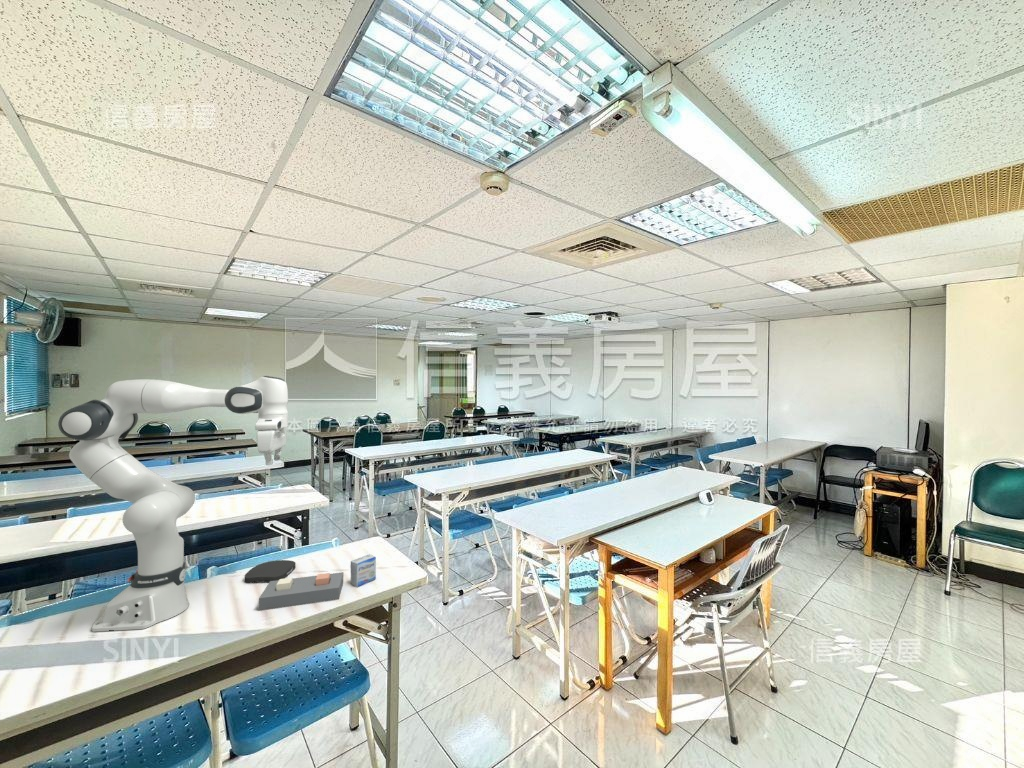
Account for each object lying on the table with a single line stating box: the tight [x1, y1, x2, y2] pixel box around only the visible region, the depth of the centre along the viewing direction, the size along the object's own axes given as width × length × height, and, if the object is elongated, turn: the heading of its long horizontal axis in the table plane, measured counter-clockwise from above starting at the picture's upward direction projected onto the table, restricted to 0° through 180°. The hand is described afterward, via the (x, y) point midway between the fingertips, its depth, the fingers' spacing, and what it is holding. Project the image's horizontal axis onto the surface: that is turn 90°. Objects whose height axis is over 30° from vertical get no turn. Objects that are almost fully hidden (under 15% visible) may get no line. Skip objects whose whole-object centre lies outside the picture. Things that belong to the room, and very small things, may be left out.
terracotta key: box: [316, 572, 331, 586], centre depth 138 cm, size 4×4×3 cm
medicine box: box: [350, 553, 377, 588], centre depth 147 cm, size 8×4×9 cm, turn 143°
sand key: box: [276, 577, 294, 591], centre depth 135 cm, size 4×4×3 cm
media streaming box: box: [244, 559, 297, 584], centre depth 153 cm, size 15×15×3 cm
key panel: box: [258, 571, 344, 612], centre depth 136 cm, size 24×12×4 cm, turn 107°
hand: (273, 462), depth 136 cm, fingers open, 8 cm apart
